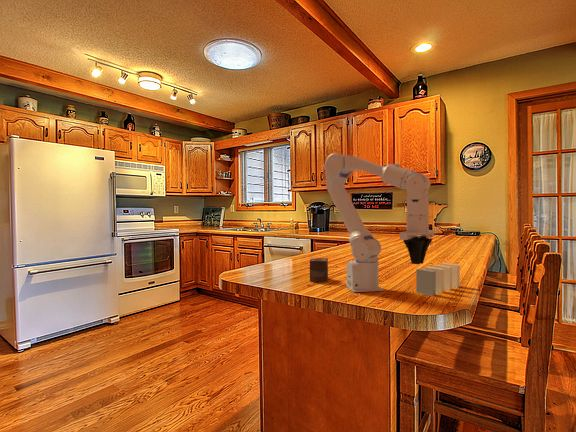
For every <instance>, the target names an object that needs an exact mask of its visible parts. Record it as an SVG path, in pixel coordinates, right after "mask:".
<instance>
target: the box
mask: <svg viewBox="0 0 576 432" xmlns="http://www.w3.org/2000/svg"><path fill="white" fill-rule="evenodd" d="M328 279H329V260H328V258H326V257H325V258H323V257H321V258H319V257H317V258H313V257H312V258H311V259H310V260H309V282H314V281H319V282H320V281H321V283H326V282H328ZM319 282H318V283H319Z"/></svg>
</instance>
